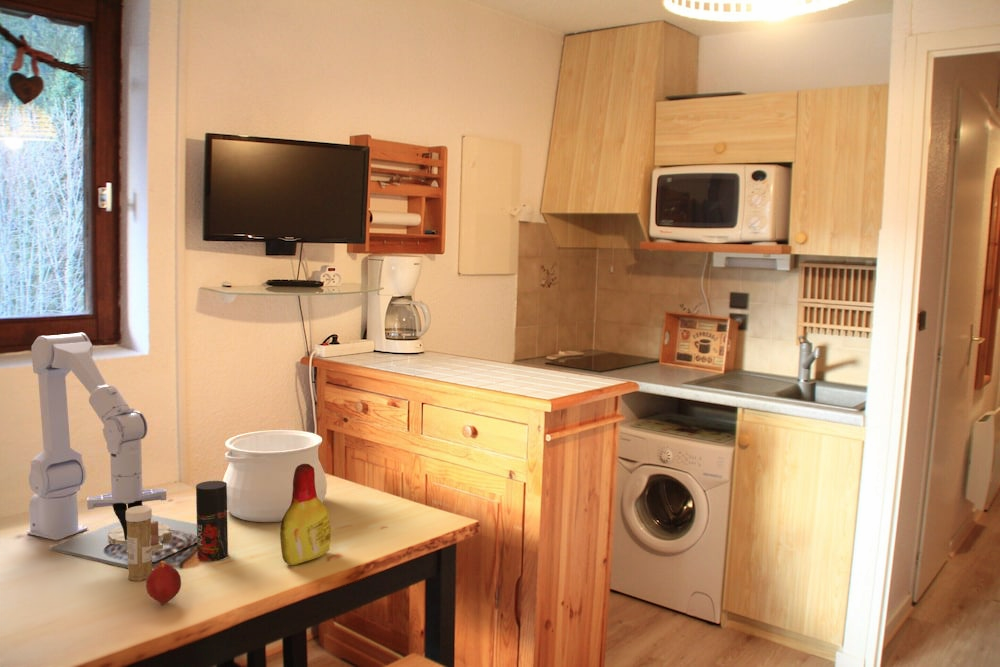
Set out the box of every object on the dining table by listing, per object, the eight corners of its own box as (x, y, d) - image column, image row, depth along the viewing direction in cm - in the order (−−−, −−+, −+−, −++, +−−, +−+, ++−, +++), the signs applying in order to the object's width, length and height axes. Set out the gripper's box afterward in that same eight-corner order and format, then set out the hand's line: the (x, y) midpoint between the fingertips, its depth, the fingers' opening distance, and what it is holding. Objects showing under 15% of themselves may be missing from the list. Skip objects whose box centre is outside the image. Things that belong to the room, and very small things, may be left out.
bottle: (291, 572, 164) (290, 472, 162) (270, 564, 168) (269, 466, 166) (337, 554, 173) (337, 460, 171) (317, 547, 177) (316, 455, 175)
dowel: (161, 546, 174) (160, 533, 174) (167, 543, 176) (167, 530, 176) (167, 547, 174) (167, 534, 173) (174, 544, 175) (173, 531, 175)
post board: (50, 549, 173) (49, 525, 172) (141, 515, 195) (141, 494, 194) (137, 570, 163) (136, 544, 163) (222, 531, 185) (222, 509, 185)
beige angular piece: (103, 534, 180) (102, 508, 179) (159, 523, 187) (158, 499, 186) (124, 558, 167) (123, 531, 166) (183, 546, 174) (183, 520, 173)
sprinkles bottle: (155, 578, 160) (153, 510, 158) (129, 583, 157) (127, 513, 156) (150, 570, 164) (148, 503, 162) (125, 574, 161) (123, 507, 159)
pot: (283, 487, 219) (283, 424, 217) (349, 506, 205) (349, 439, 203) (198, 511, 198) (196, 442, 197) (264, 534, 184) (264, 460, 182)
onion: (152, 597, 152) (151, 554, 151) (185, 596, 152) (184, 554, 151) (141, 611, 146) (140, 567, 145) (176, 610, 146) (174, 566, 145)
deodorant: (234, 553, 173) (233, 482, 171) (215, 563, 167) (214, 490, 166) (210, 549, 175) (208, 479, 173) (191, 559, 169) (189, 487, 168)
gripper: (87, 482, 161) (89, 550, 163) (167, 473, 168) (169, 539, 170) (85, 473, 167) (87, 538, 169) (163, 465, 174) (164, 528, 176)
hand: (128, 538), depth 170 cm, fingers closed
